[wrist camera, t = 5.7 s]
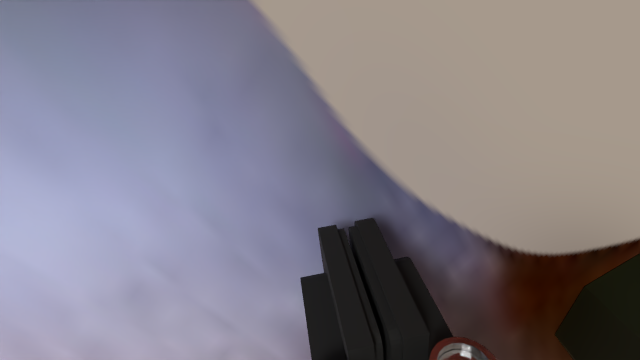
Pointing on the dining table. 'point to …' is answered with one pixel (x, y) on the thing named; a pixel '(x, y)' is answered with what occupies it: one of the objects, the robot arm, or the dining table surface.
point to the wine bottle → (606, 317)
